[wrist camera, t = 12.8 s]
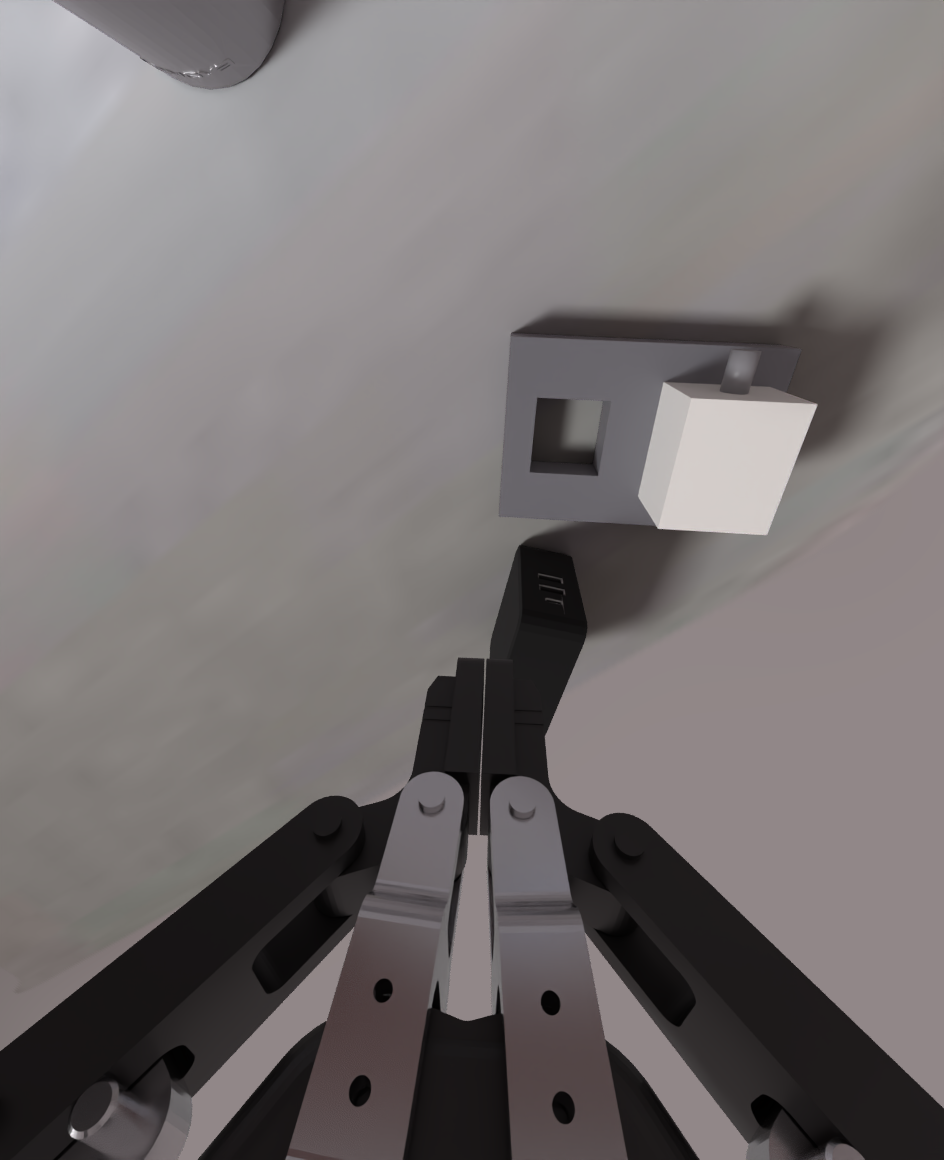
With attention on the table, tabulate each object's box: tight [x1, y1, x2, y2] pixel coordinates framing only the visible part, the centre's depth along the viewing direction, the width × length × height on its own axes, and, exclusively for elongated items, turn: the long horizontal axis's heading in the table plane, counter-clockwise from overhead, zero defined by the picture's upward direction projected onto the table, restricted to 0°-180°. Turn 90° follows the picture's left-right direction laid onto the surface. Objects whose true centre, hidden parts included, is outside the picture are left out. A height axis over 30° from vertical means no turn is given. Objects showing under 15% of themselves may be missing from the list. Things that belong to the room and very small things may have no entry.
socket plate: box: [499, 333, 802, 526], centre depth 31 cm, size 11×16×2 cm
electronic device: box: [490, 545, 587, 735], centre depth 35 cm, size 4×10×10 cm, turn 168°
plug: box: [638, 349, 818, 535], centre depth 27 cm, size 9×6×7 cm, turn 178°
